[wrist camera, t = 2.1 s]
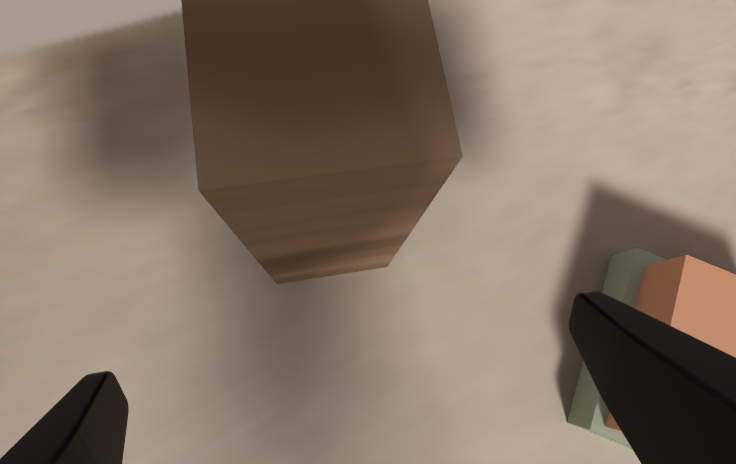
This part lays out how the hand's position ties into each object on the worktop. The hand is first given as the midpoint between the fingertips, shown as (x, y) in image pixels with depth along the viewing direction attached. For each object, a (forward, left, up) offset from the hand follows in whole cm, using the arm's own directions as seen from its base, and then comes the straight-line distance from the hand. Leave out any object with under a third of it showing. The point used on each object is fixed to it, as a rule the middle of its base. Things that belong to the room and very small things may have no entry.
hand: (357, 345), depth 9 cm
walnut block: (+5, +2, -12) cm, 13 cm away
